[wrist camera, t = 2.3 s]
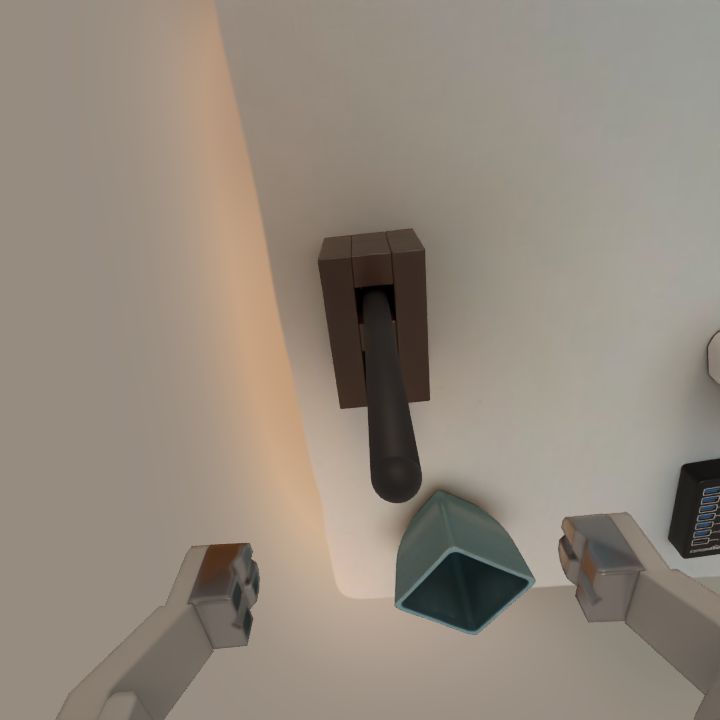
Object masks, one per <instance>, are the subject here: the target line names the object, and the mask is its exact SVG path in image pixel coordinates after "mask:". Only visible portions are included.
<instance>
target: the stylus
mask: <svg viewBox="0 0 720 720" xmlns="http://www.w3.org/2000/svg"><path fill="white" fill-rule="evenodd" d="M362 295H363V317H364V339H365V360H366V382H367V404H368V426H369V448H370V470H371V482H372V485H373V488H374V490H375V491H376V493H377V494H378V495H379V496H380V497H381V498H383V499H384V500H386V501H388V502H392V503H403V502H406V501H408V500H410V499H411V498H412V497H414V496H415V495H416V494H417V492H418V490H419V489H420V486H421V482H422V472H421V467H420V462H419V456H418V451H417V446H416V441H415V436H414V431H413V426H412V421H411V416H410V411H409V405H408V400H407V395H406V390H405V385H404V380H403V375H402V370H401V365H400V360H399V354H398V349H397V344H396V339H395V334H394V329H393V324H392V319H391V314H390V309H389V303H388V298H387V293H386V288H385V285H379V286H369V287H362Z"/></svg>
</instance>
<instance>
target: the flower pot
mask: <svg viewBox="0 0 720 720" xmlns="http://www.w3.org/2000/svg"><path fill="white" fill-rule="evenodd" d="M535 582H536V580H535V578H534V576H533V575H532V573H531V571H530V569H529V568H528V566H527V564H526V562H525V561H524V559H523V557H522V555H521V554H520V552H519V550H518V548H517V547H516V545H515V543H514V542H513V540H512V538H511V537H510V535H509V534H508V533H507V531H506V530H505V529H504V528H503V527H502V526H501V525H500V523H499V522H498V521H496V520H495V519H494V518H493V517H492V516H490V515H489V514H488V513H486V512H485V511H483V510H482V509H480V508H479V507H478V506H476V505H473V504H471V503H469V502H466V501H464V500H462V499H459V498H457V497H455V496H453V495H450V494H448V493H446V492H444V491H437V492H435V493H434V494H433V496H432V497H431V498H430V499H429V500H428V502H427V503H426V504H425V505H424V506H423V507H422V509H421V510H420V511H419V512H418V513H417V514H416V515H415V517H414V518H413V519H412V520H411V522H410V524H409V526H408V527H407V529H406V531H405V533H404V535H403V537H402V540H401V543H400V546H399V549H398V554H397V563H396V584H395V607H396V608H398V609H400V610H402V611H405V612H407V613H411V614H413V615H416V616H420V617H422V618H426V619H428V620H432V621H434V622H437V623H440V624H443V625H446V626H448V627H450V628H453V629H456V630H459V631H461V632H464V633H467V634H472V635H476V634H478V633H479V632H481V631H482V630H483V629H484V628H485V627H487V626H488V625H489V624H490V623H491V622H492V621H493V620H494V619H495V618H496V617H497V616H499V615H500V614H501V613H502V612H503V611H504V610H505V609H507V608H508V607H509V606H510V605H511V604H512V603H513V602H514V601H515V600H516V599H518V598H519V597H520V596H521V595H522V594H523V593H525V592H526V591H527V590H528V589H530V588H531V587H532V586H533V585H534V583H535Z"/></svg>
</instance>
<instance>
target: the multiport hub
mask: <svg viewBox="0 0 720 720" xmlns="http://www.w3.org/2000/svg"><path fill="white" fill-rule="evenodd" d="M669 541H670V542H671V543H672V544H673V546H674V547H675V548H676V550H677V551H678V552H679V554H680V555H681V556H682V557H683V558H684V559H687V558H695V557H702V556H709V555H716V554H720V459H716V460H710V461H703V462H697V463H691V464H686V465H684V466H683V467H682V470H681V475H680V480H679V485H678V491H677V496H676V501H675V507H674V512H673V517H672V522H671V528H670V533H669Z"/></svg>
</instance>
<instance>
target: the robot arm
mask: <svg viewBox="0 0 720 720" xmlns="http://www.w3.org/2000/svg"><path fill="white" fill-rule="evenodd" d="M561 528H562V530H563V532H564V534H565V535H564V536H563V537H562V538H561V539H560V540H559V547H558V551H559V558H560V562H561V565H562V568H563V571H564V573H565V575H566V577H567V579H568V580H570V581H571V582H572V583H573V584H575V585H576V586H577V590H576V595H575V596H576V598H577V600H578V602H579V604H580V606H581V609H582V611H583V613H584V615H585V617H586V619H587V621H588V622H610V621H625V624H626V625H628V626H629V627H630V628H631V629H632V630H633V631H634V632H635V633H636V634H638V635H639V636H640V637H641V638H642V639H643V640H644V641H645V642H646V643H648V644H649V645H650V646H651V647H652V648H653V649H654V650H655V651H656V652H657V653H659V654H660V655H661V656H662V657H663V658H664V659H665V660H666V661H667V662H669V663H670V664H671V665H672V666H673V667H674V668H675V669H676V670H677V671H679V672H680V673H681V674H682V675H683V676H684V677H685V678H686V679H688V680H689V681H690V682H691V683H692V684H693V685H694V686H695V687H696V688H697V689H698V690H700V691H701V692H702V693H703V694H704V695H705V696H704V699H703V700H702V702H701V704H700V706H699V708H698V710H697V712H696V714H695V717H694V720H720V596H719V595H718V594H716V593H714V592H713V591H711V590H710V589H708V588H707V587H705V586H703V585H702V584H700V583H699V582H697V581H695V580H694V579H692V578H691V577H689V576H687V575H686V574H684V573H683V572H681V571H679V570H678V569H670V568H669V567H668V565H667V564H666V562H665V561H664V560H663V558H662V557H661V556H660V554H659V553H658V552H657V550H656V549H655V547H654V546H653V545H652V543H651V542H650V541H649V539H648V538H647V537H646V535H645V534H644V532H643V531H642V530H641V528H640V527H639V526H638V524H637V523H636V522H635V520H634V519H633V518H632V516H631V515H630V514H628V513H627V512H623V513H611V514H594V515H584V516H573V517H565V518H564V519H563V521H562V527H561ZM252 553H253V551H252V548H251V545H250V543H237V544H218V545H204V546H203V545H202V546H192V547H191V548H190V549H189V550H188V552H187V553H186V556H185V558H184V561H183V563H182V565H181V568H180V570H179V573H178V575H177V577H176V580H175V582H174V585H173V587H172V590H171V592H170V595H169V597H168V599H167V602H166V605H165V606H160V607H158V608H157V609H156V610H155V611H154V612H153V613H152V614H151V615H150V616H149V617H148V618H147V619H146V620H145V621H144V622H143V623H142V624H141V625H139V627H137V628H136V629H135V630H134V631H133V632H132V633H131V634H130V635H129V636H128V637H127V638H126V639H125V640H124V641H123V642H122V643H121V644H120V645H119V646H118V647H117V648H116V649H115V650H113V651H112V652H111V653H110V654H109V655H108V656H107V657H106V658H105V659H104V660H103V661H102V662H101V663H100V664H99V665H98V666H97V667H96V668H95V669H94V670H93V671H92V672H91V673H90V674H88V675H87V676H86V677H85V678H84V679H83V680H82V681H81V682H80V683H79V684H78V685H77V686H76V687H75V688H74V689H73V690H72V691H71V692H70V693H69V694H68V696H67V698H66V700H65V702H64V704H63V706H62V708H61V710H60V712H59V714H58V716H57V717H56V719H55V720H164V719H165V717H166V716H167V715H168V713H169V712H170V711H171V709H172V708H173V707H174V705H175V704H176V702H177V701H178V700H179V698H180V697H181V695H182V694H183V693H184V691H185V690H186V689H187V687H188V686H189V685H190V683H191V682H192V680H193V679H194V678H195V676H196V675H197V674H198V672H199V671H200V670H201V668H202V667H203V665H204V664H205V663H206V661H207V660H208V658H209V657H210V656H211V654H212V653H213V652H214V651H213V649H219V648H229V647H240V646H247V644H248V639H249V635H250V631H251V626H252V621H253V617H252V614H251V611H250V609H251V607H252V606H253V605H254V604H255V603H256V602H257V598H258V593H259V581H260V577H259V569H258V566H257V563H256V562H254V561H253V560H252V559H251V557H252Z"/></svg>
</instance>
